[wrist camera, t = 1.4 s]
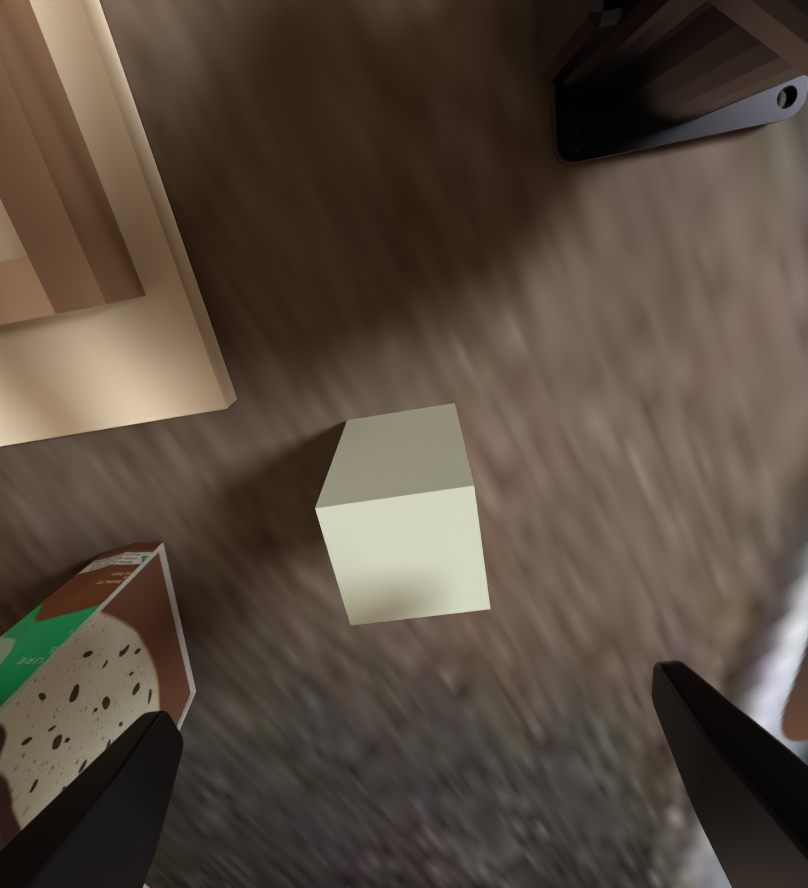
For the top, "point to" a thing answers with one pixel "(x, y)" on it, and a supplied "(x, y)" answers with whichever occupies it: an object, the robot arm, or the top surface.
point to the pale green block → (403, 518)
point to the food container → (87, 675)
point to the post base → (88, 243)
